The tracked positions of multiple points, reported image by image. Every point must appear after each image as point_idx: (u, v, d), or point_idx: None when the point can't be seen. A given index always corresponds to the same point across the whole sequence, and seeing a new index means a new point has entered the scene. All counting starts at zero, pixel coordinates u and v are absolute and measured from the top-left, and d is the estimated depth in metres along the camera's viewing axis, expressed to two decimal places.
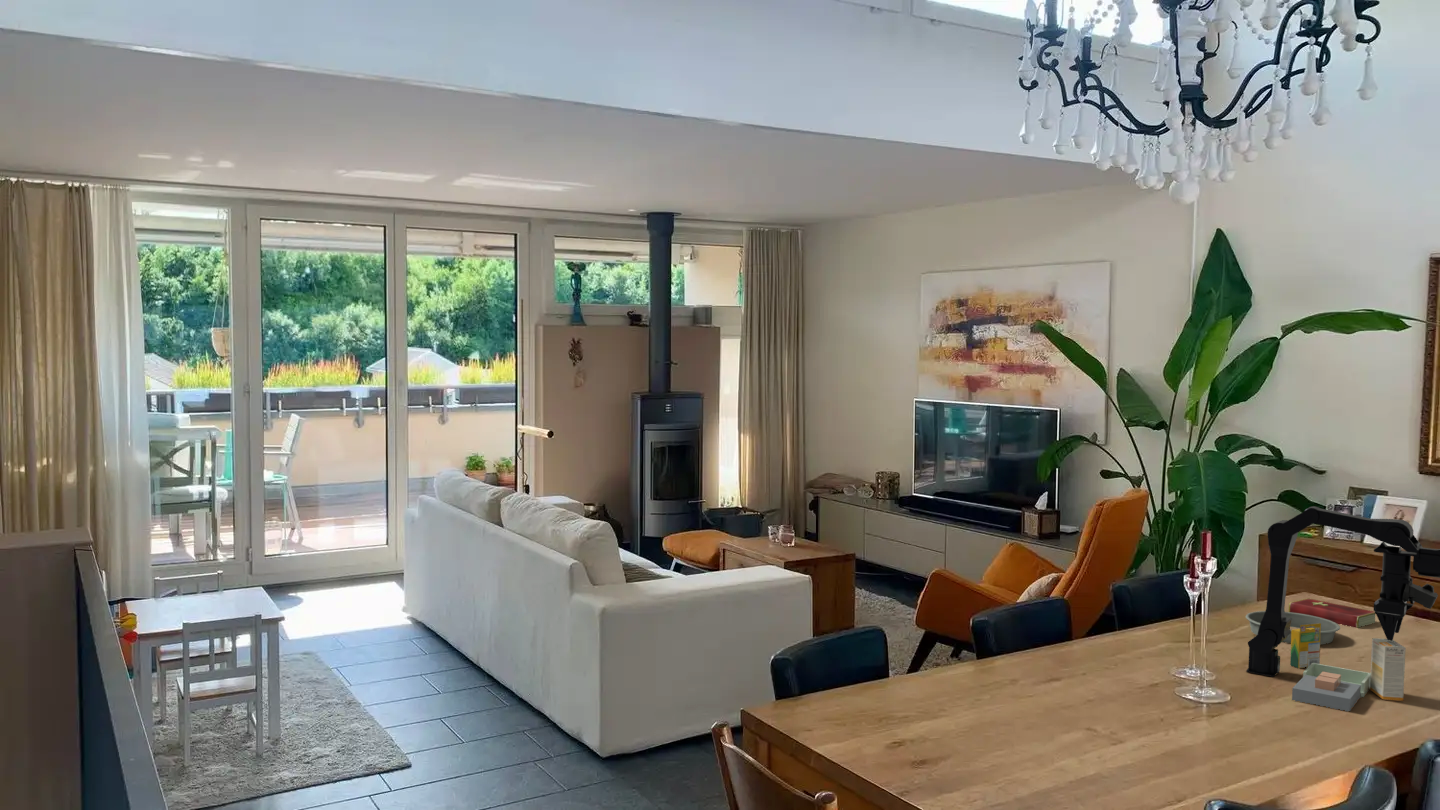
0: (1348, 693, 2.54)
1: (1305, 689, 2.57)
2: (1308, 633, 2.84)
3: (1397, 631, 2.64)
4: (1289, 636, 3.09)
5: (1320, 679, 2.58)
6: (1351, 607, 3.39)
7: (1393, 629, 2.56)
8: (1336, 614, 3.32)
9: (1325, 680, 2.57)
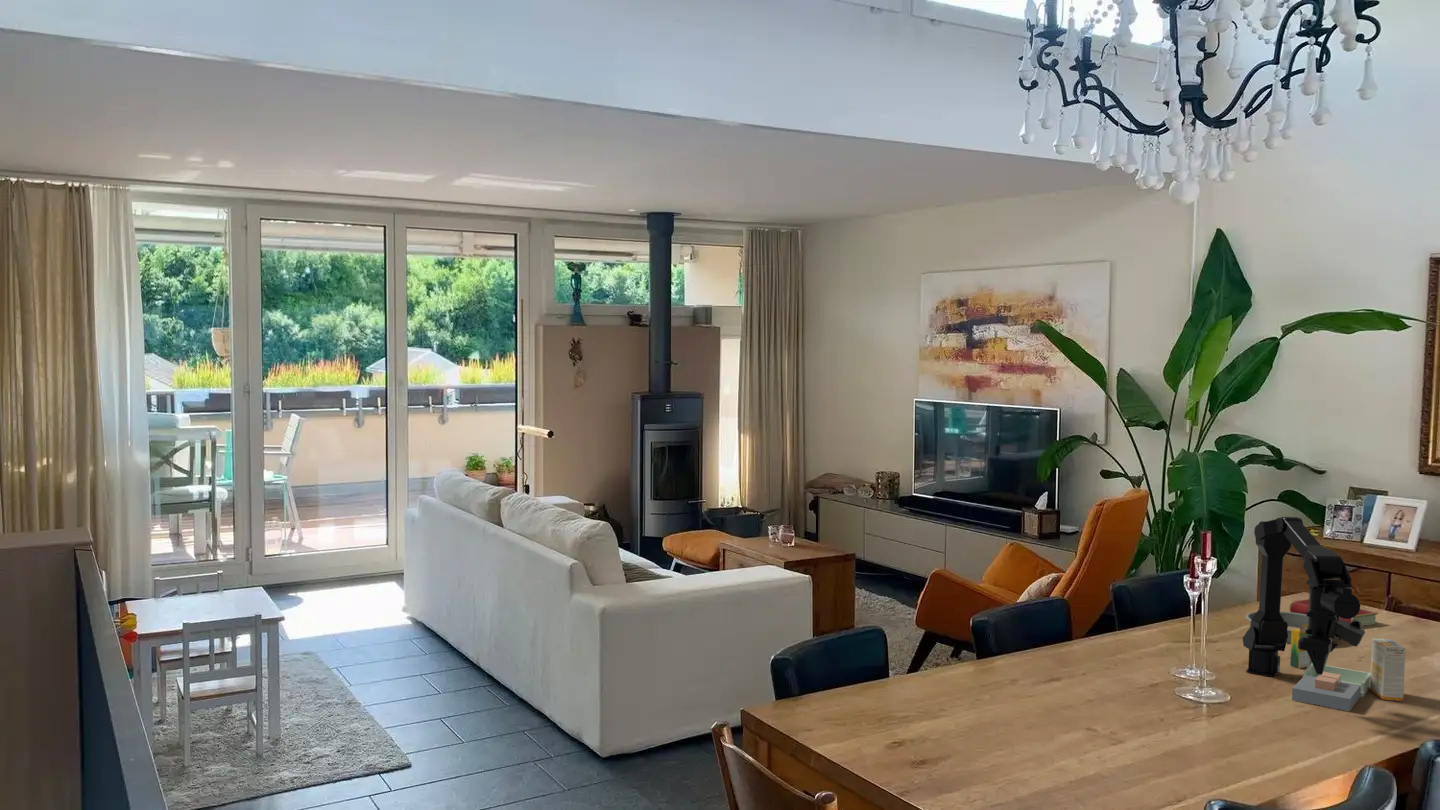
0: (1348, 693, 2.54)
1: (1305, 689, 2.57)
2: None
3: None
4: (1289, 636, 3.09)
5: (1320, 679, 2.58)
6: None
7: (1322, 663, 2.50)
8: None
9: (1325, 680, 2.57)
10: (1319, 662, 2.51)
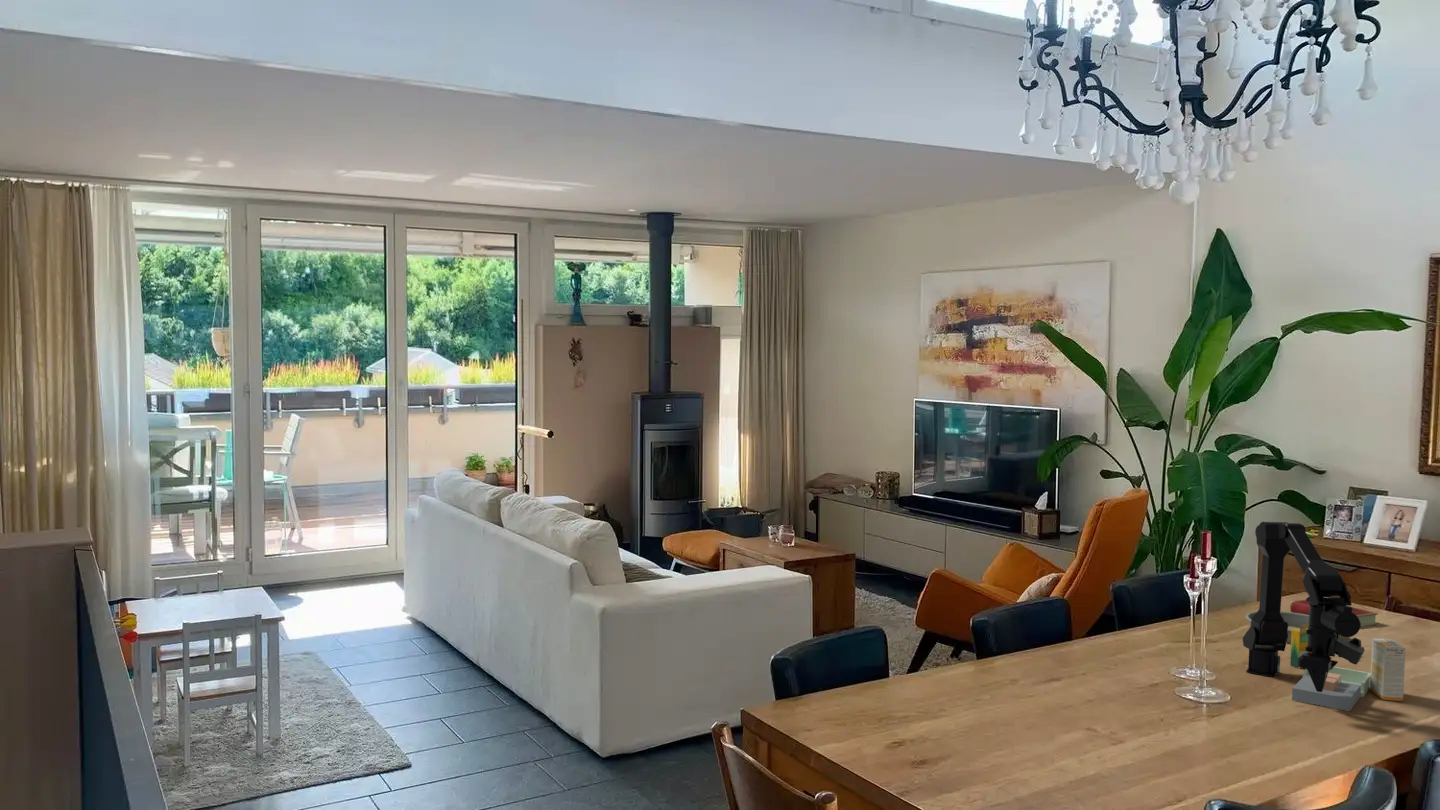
0: (1348, 693, 2.54)
1: (1305, 689, 2.57)
2: None
3: None
4: (1289, 636, 3.09)
5: None
6: (1353, 608, 3.38)
7: (1322, 681, 2.51)
8: None
9: None
10: (1319, 680, 2.52)
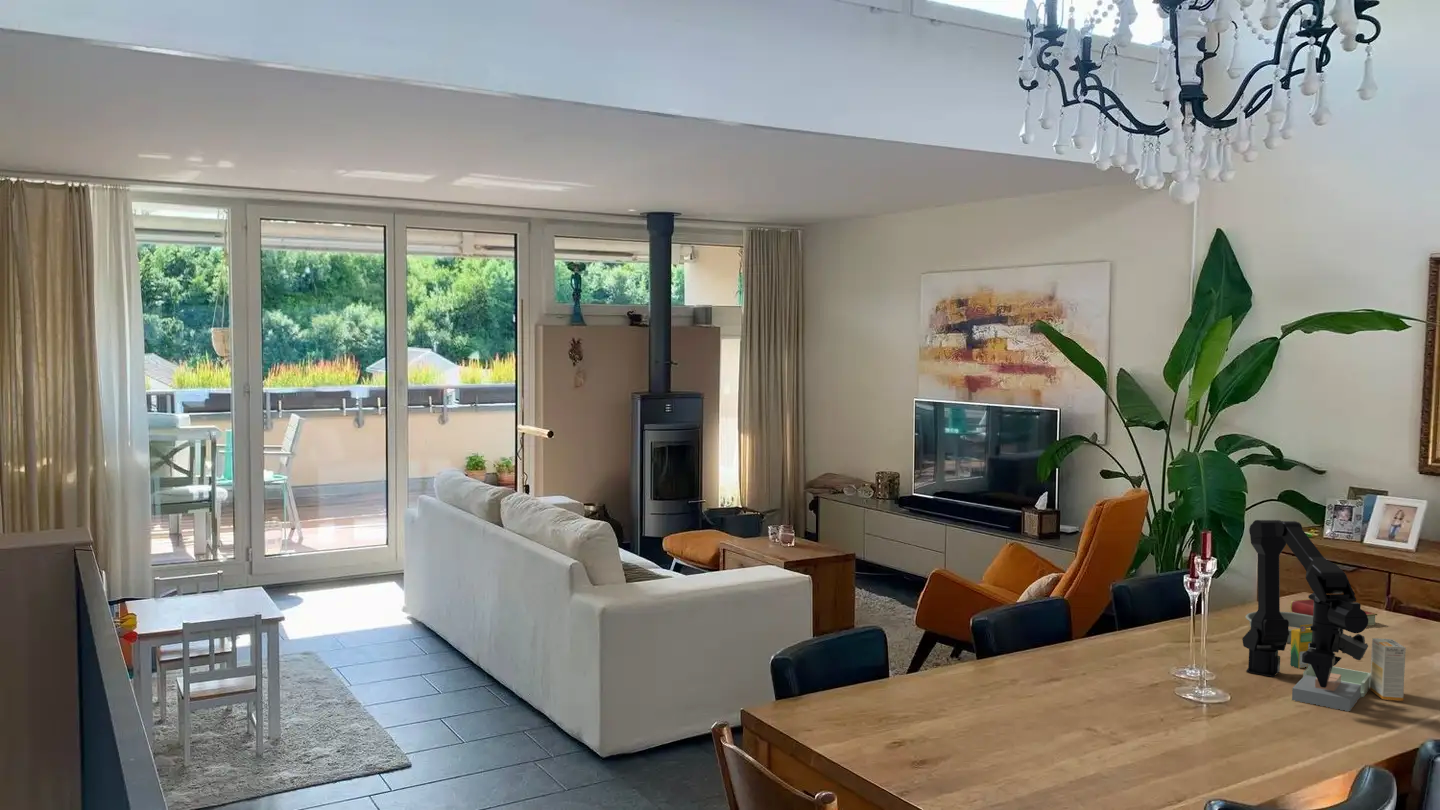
0: (1348, 693, 2.54)
1: (1305, 689, 2.57)
2: (1308, 633, 2.84)
3: None
4: (1289, 636, 3.09)
5: None
6: None
7: (1326, 676, 2.55)
8: None
9: None
10: (1323, 675, 2.55)
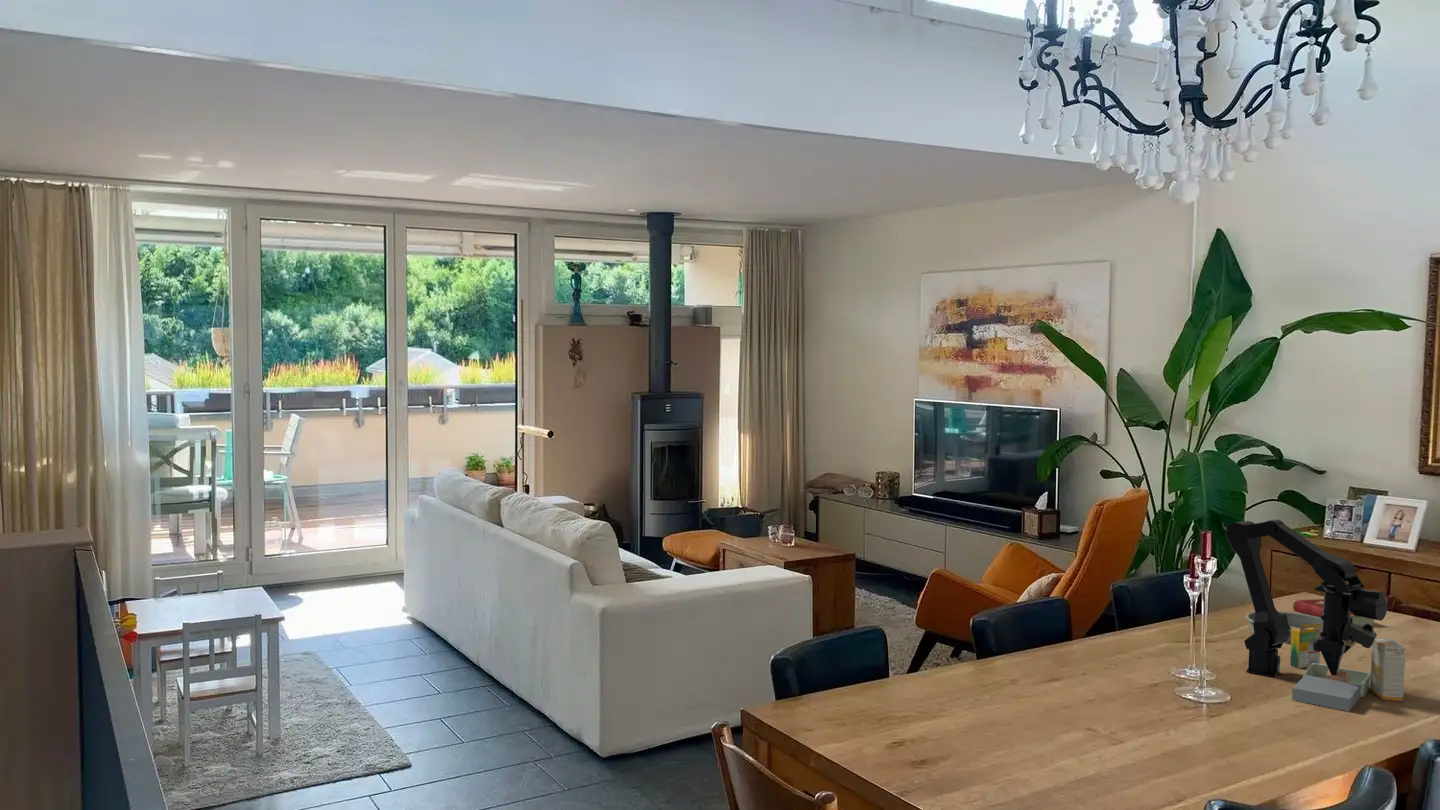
0: (1348, 693, 2.54)
1: (1305, 689, 2.57)
2: (1308, 633, 2.84)
3: (1335, 673, 2.65)
4: (1289, 636, 3.09)
5: None
6: None
7: (1336, 664, 2.64)
8: None
9: None
10: (1333, 663, 2.64)
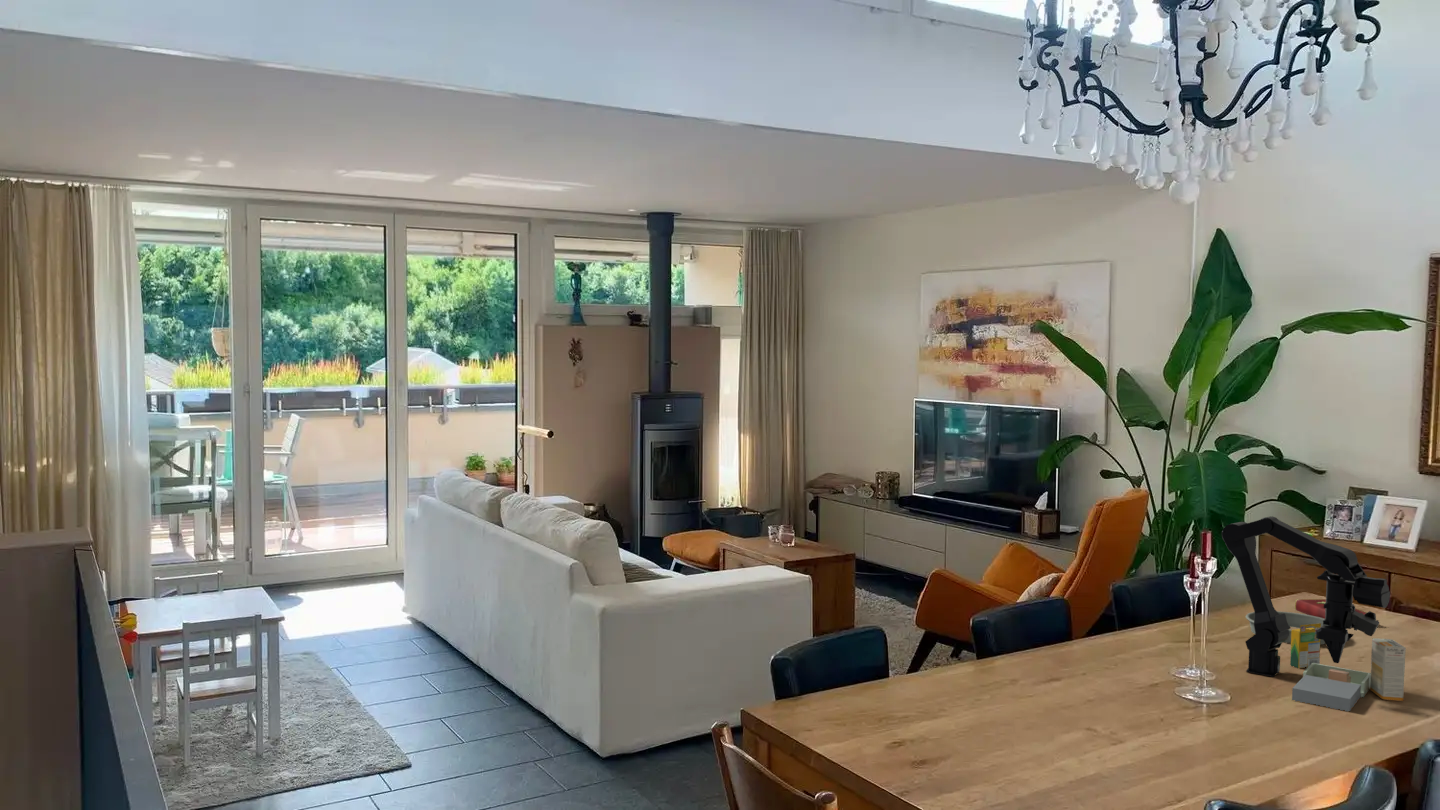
0: (1348, 693, 2.54)
1: (1305, 689, 2.57)
2: (1308, 633, 2.84)
3: None
4: (1289, 636, 3.09)
5: None
6: (1356, 609, 3.36)
7: (1339, 652, 2.65)
8: (1324, 612, 3.34)
9: None
10: (1336, 651, 2.65)
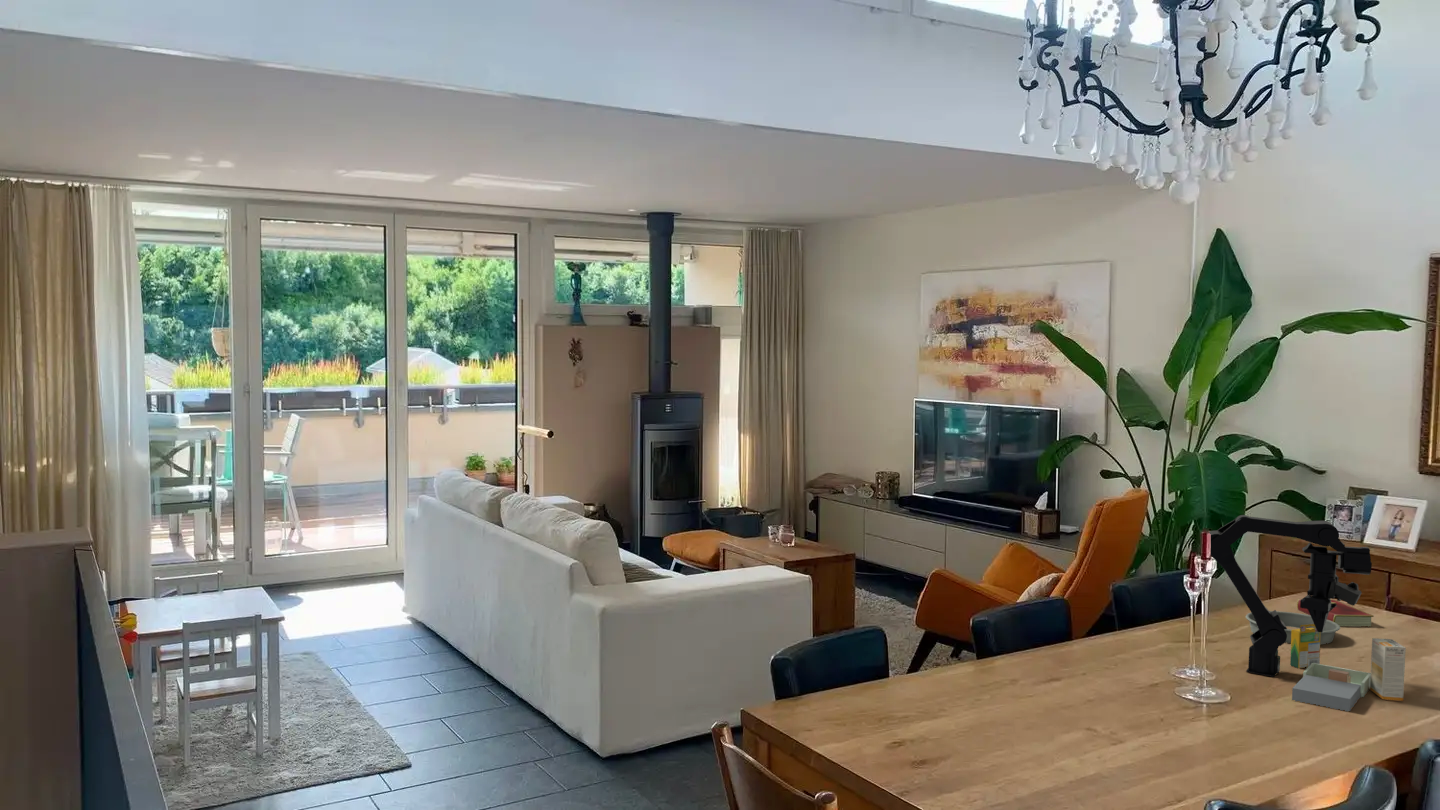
0: (1348, 693, 2.54)
1: (1305, 689, 2.57)
2: (1308, 633, 2.84)
3: None
4: (1289, 636, 3.09)
5: None
6: (1356, 609, 3.36)
7: (1322, 622, 2.73)
8: None
9: None
10: (1319, 621, 2.74)
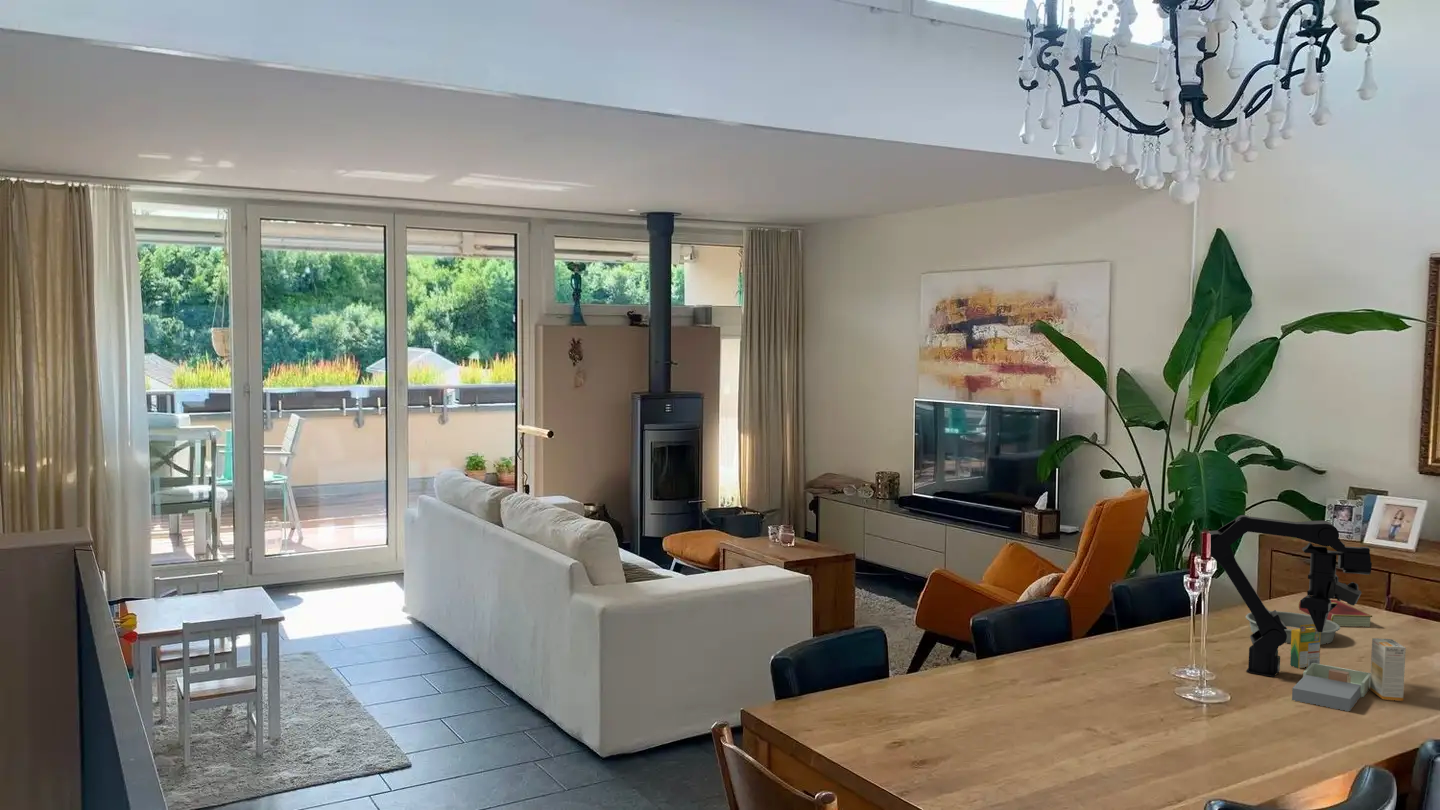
0: (1348, 693, 2.54)
1: (1305, 689, 2.57)
2: (1308, 633, 2.84)
3: None
4: (1289, 636, 3.09)
5: None
6: (1356, 610, 3.35)
7: (1322, 621, 2.73)
8: None
9: None
10: (1319, 621, 2.74)
